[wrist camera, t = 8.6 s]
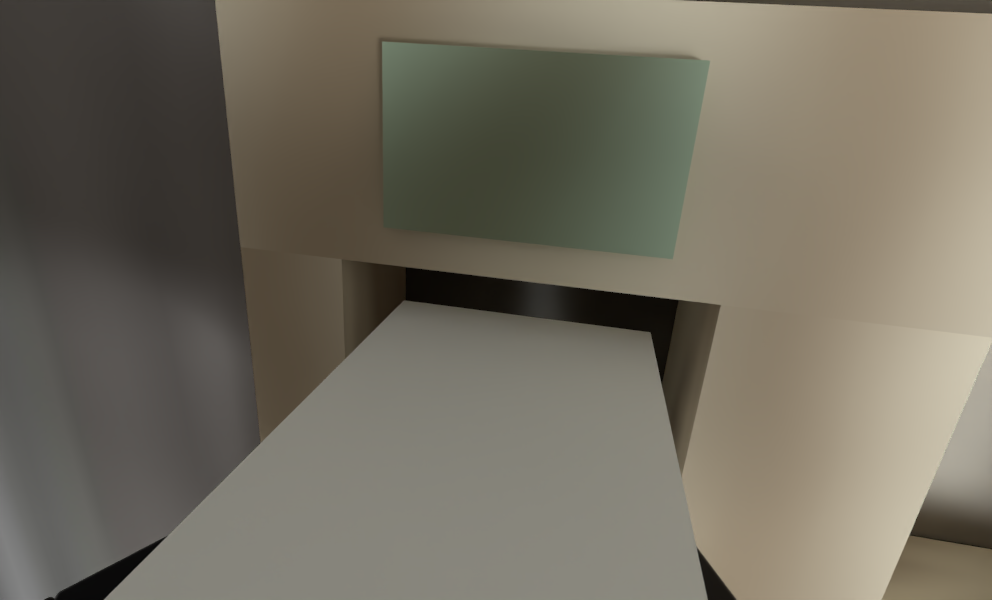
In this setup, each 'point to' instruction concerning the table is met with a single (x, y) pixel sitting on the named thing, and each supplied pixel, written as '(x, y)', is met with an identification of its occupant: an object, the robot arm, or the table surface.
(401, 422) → the white squarish block
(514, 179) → the socket block
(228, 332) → the table surface
